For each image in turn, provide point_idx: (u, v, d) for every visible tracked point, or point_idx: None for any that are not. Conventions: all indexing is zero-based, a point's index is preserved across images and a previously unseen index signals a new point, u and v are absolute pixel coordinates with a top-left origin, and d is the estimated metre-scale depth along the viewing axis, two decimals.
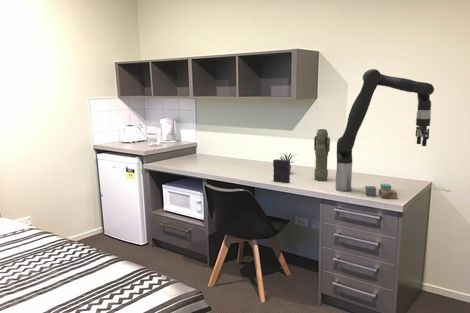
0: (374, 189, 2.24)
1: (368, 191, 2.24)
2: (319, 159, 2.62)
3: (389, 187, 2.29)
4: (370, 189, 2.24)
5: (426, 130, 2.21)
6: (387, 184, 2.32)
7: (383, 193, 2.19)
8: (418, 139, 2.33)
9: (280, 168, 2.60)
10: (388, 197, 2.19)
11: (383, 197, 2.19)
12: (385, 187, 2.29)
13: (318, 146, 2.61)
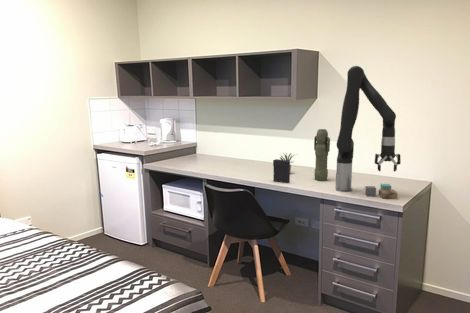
0: (374, 189, 2.24)
1: (368, 191, 2.24)
2: (319, 159, 2.62)
3: (389, 187, 2.29)
4: (370, 189, 2.24)
5: None
6: (387, 184, 2.32)
7: (383, 193, 2.19)
8: None
9: (280, 168, 2.60)
10: (388, 197, 2.19)
11: (383, 197, 2.19)
12: (385, 187, 2.29)
13: (318, 146, 2.61)
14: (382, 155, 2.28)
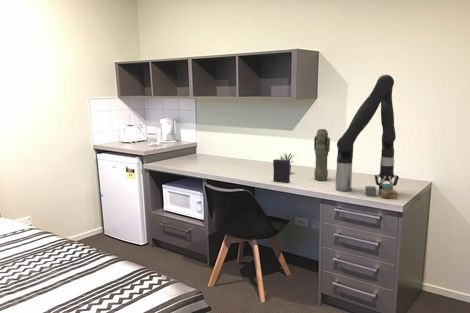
0: (374, 189, 2.24)
1: (368, 191, 2.24)
2: (319, 159, 2.62)
3: (389, 187, 2.29)
4: (370, 189, 2.24)
5: None
6: (387, 184, 2.32)
7: (384, 193, 2.19)
8: None
9: (280, 168, 2.60)
10: (389, 197, 2.19)
11: (384, 197, 2.19)
12: (385, 187, 2.29)
13: (318, 146, 2.61)
14: (381, 176, 2.30)
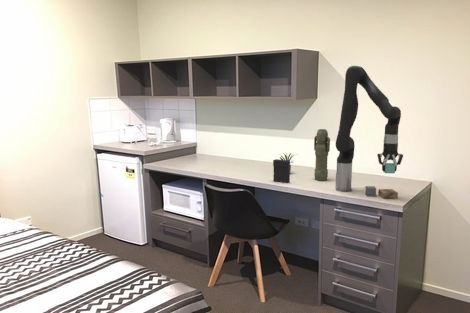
0: (374, 189, 2.24)
1: (368, 191, 2.24)
2: (319, 159, 2.62)
3: (393, 166, 2.17)
4: (370, 189, 2.24)
5: None
6: (391, 163, 2.20)
7: (384, 193, 2.18)
8: None
9: (280, 168, 2.60)
10: (389, 197, 2.19)
11: (384, 197, 2.19)
12: (389, 166, 2.17)
13: (318, 146, 2.61)
14: (384, 154, 2.18)
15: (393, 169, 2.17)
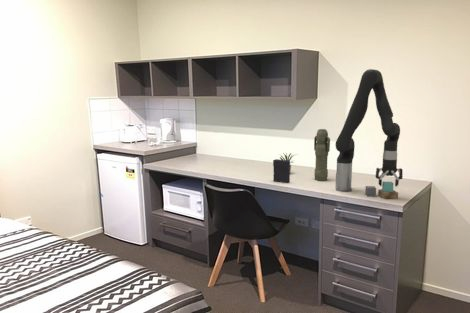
0: (374, 189, 2.24)
1: (368, 191, 2.24)
2: (319, 159, 2.62)
3: (391, 185, 2.19)
4: (370, 189, 2.24)
5: None
6: (389, 182, 2.22)
7: (385, 193, 2.18)
8: None
9: (280, 168, 2.60)
10: (389, 197, 2.19)
11: (385, 197, 2.18)
12: (387, 185, 2.19)
13: (318, 146, 2.61)
14: (383, 169, 2.19)
15: (391, 188, 2.19)
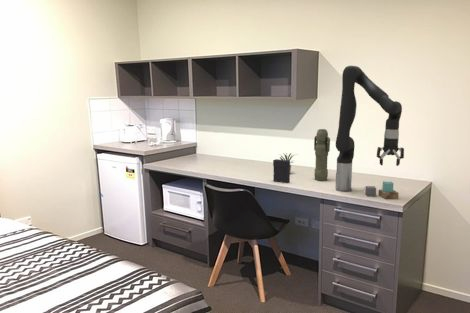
0: (374, 189, 2.24)
1: (368, 191, 2.24)
2: (319, 159, 2.62)
3: (391, 185, 2.19)
4: (370, 189, 2.24)
5: None
6: (389, 182, 2.22)
7: (385, 193, 2.18)
8: None
9: (280, 168, 2.60)
10: (390, 197, 2.18)
11: (385, 197, 2.18)
12: (387, 185, 2.19)
13: (318, 146, 2.61)
14: (385, 148, 2.17)
15: (391, 188, 2.19)
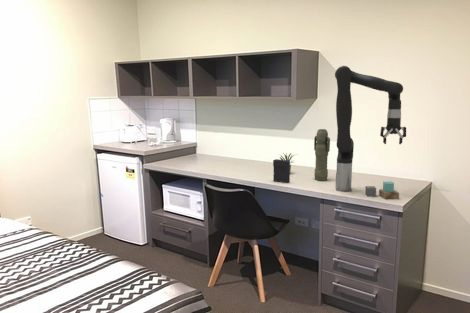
0: (374, 189, 2.24)
1: (368, 191, 2.24)
2: (319, 159, 2.62)
3: (392, 185, 2.19)
4: (370, 189, 2.24)
5: None
6: (390, 182, 2.22)
7: (386, 193, 2.18)
8: None
9: (280, 168, 2.60)
10: (390, 197, 2.18)
11: (386, 197, 2.18)
12: (387, 185, 2.19)
13: (318, 146, 2.61)
14: (388, 128, 2.29)
15: (392, 188, 2.19)
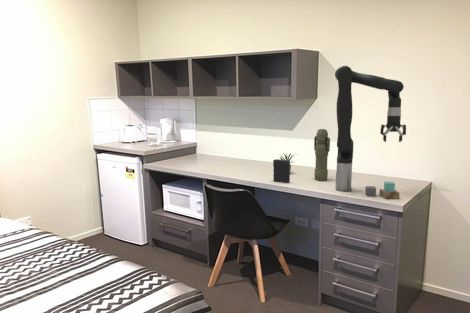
0: (374, 189, 2.24)
1: (368, 191, 2.24)
2: (319, 159, 2.62)
3: (392, 185, 2.18)
4: (370, 189, 2.24)
5: None
6: (391, 182, 2.22)
7: (386, 193, 2.18)
8: None
9: (280, 168, 2.60)
10: (391, 197, 2.19)
11: (386, 197, 2.18)
12: (388, 185, 2.19)
13: (318, 146, 2.61)
14: (388, 125, 2.31)
15: (393, 188, 2.19)
